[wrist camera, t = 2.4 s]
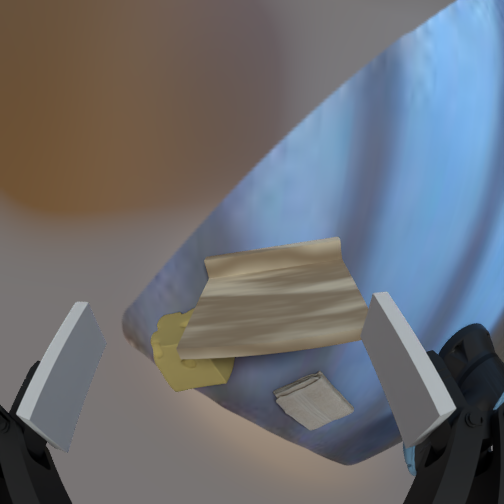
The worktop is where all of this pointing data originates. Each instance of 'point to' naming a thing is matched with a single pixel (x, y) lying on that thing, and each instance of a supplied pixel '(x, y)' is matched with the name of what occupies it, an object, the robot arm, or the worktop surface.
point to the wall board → (275, 302)
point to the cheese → (185, 370)
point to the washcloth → (313, 401)
